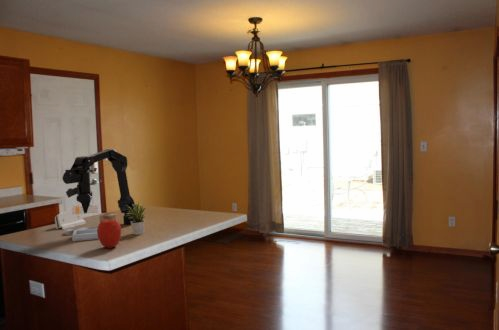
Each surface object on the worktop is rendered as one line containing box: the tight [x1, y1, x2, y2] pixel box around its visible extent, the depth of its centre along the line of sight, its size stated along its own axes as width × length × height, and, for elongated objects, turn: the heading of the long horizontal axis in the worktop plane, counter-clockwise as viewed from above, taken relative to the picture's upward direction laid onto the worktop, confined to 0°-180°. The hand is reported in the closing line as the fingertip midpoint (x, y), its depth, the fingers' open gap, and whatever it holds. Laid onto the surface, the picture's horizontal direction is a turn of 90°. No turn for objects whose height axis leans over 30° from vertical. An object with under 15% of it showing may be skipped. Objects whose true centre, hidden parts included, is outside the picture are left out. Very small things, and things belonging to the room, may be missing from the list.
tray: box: [71, 228, 99, 242], centre depth 207 cm, size 17×11×3 cm, turn 109°
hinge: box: [54, 209, 87, 230], centre depth 236 cm, size 17×5×10 cm, turn 154°
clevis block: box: [64, 212, 117, 236], centre depth 219 cm, size 25×8×8 cm, turn 109°
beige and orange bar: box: [71, 203, 99, 215], centre depth 208 cm, size 12×4×4 cm, turn 107°
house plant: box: [126, 202, 147, 236], centre depth 212 cm, size 14×14×16 cm
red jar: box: [97, 219, 122, 249], centre depth 185 cm, size 10×10×14 cm
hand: (85, 212), depth 208 cm, fingers closed on beige and orange bar, 4 cm apart
